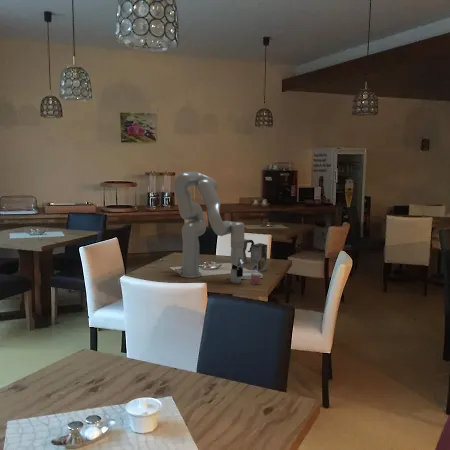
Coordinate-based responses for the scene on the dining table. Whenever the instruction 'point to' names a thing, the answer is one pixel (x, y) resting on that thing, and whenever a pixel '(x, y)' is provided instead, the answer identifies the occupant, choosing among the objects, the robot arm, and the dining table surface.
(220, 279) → the dining table surface
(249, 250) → the coffeepot
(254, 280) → the jam jar
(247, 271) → the tray
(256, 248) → the coffee box
